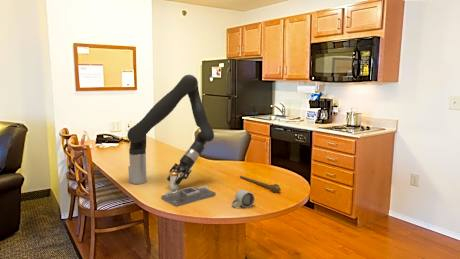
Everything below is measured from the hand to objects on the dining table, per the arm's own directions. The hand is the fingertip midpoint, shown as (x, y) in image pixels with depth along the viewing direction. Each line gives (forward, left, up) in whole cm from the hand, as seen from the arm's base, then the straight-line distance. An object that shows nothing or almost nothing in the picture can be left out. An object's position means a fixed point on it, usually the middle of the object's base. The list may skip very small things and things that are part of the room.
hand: (172, 182), depth 182 cm
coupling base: (+13, -4, -5) cm, 15 cm away
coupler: (0, +1, -5) cm, 5 cm away
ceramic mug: (+43, -3, -5) cm, 43 cm away
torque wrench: (+38, +31, -5) cm, 49 cm away
